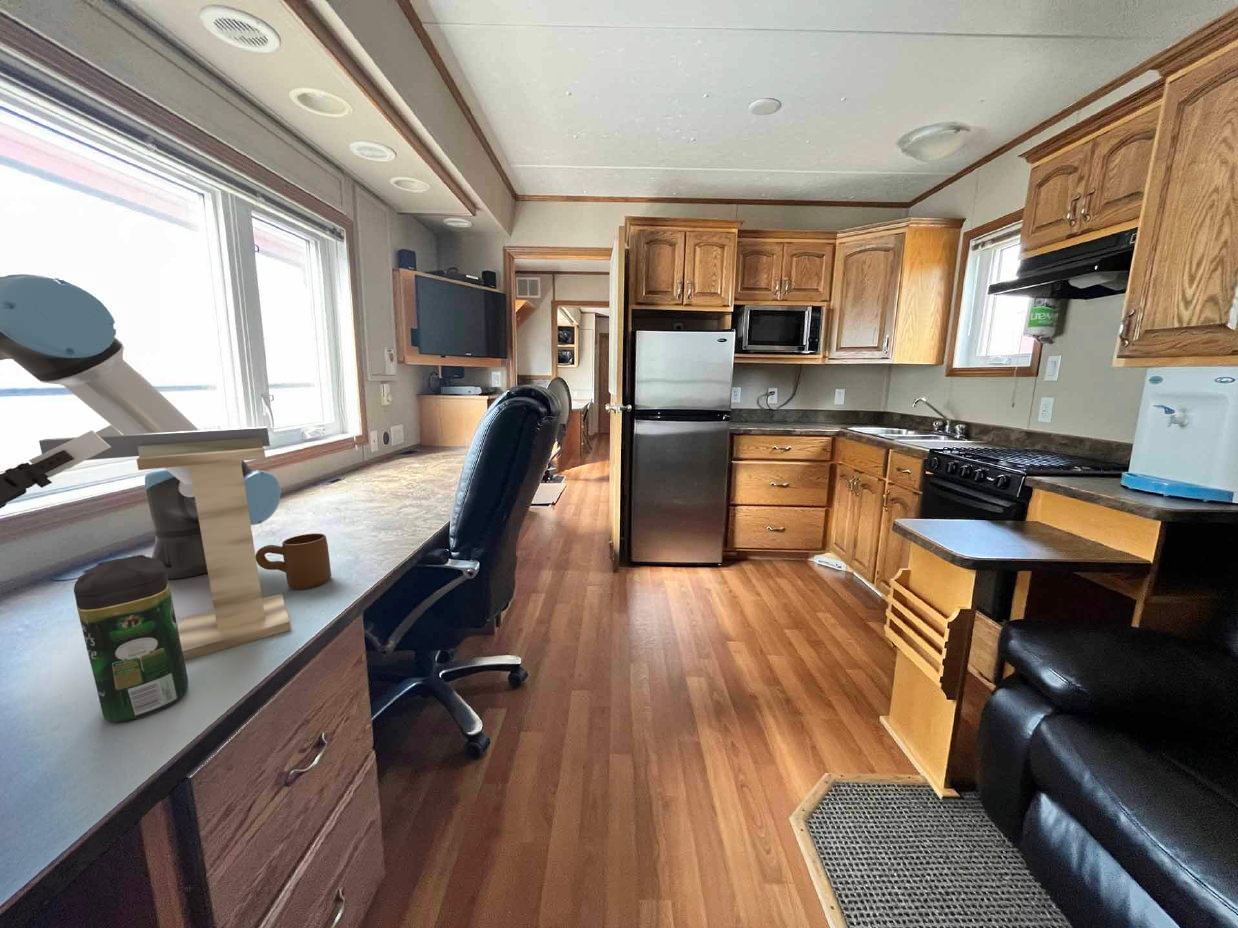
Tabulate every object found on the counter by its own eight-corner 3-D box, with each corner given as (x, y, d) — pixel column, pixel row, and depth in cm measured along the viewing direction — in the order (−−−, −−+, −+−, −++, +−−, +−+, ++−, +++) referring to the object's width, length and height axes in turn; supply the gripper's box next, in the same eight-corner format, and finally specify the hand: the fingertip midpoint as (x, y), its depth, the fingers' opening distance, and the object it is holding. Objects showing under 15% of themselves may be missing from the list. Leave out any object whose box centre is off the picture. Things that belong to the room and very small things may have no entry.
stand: (181, 626, 78) (146, 441, 73) (282, 601, 87) (258, 433, 82) (174, 663, 68) (133, 449, 63) (290, 629, 77) (263, 440, 71)
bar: (50, 460, 64) (45, 439, 63) (268, 444, 79) (266, 426, 78) (44, 463, 61) (38, 440, 61) (269, 446, 76) (267, 427, 76)
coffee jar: (104, 697, 60) (74, 561, 57) (187, 671, 66) (163, 545, 63) (98, 736, 54) (63, 584, 50) (191, 702, 59) (165, 564, 56)
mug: (257, 599, 88) (250, 552, 87) (263, 585, 95) (256, 540, 93) (331, 585, 94) (325, 540, 93) (332, 572, 101) (327, 530, 99)
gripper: (-21, 534, 67) (145, 448, 77) (-116, 589, 48) (119, 466, 58) (-77, 494, 64) (104, 410, 74) (-204, 537, 45) (62, 416, 55)
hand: (111, 435), depth 66 cm, fingers open, 13 cm apart
